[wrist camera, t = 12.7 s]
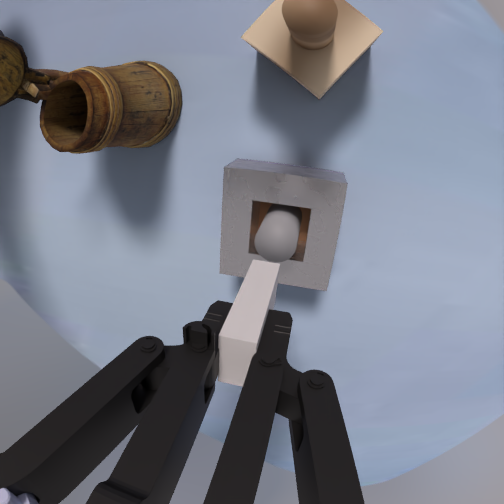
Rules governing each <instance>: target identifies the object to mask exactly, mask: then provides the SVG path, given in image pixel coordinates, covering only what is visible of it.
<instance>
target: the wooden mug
mask: <svg viewBox="0 0 504 504" xmlns="http://www.w3.org/2000/svg"><path fill="white" fill-rule="evenodd" d="M16 98H21V99H25V100H29V101H32V102H34V103H36V104H37V103H38V102H39V100H42V105H41V112H40V128H41V131H42V134H43V136H44V138H45V139H46V141H47V142H48V143H49V144H50V145H51V147H52V148H54V149H56V150H58V151H59V152H70V153H79V154H80V153H88V152H94V151H100V150H101V149H103V148H105V147H117V146H123V147H130V148H141V147H150V146H152V145H154V144H156V143H158V142H160V141H161V140H162V139H163V138H165V137H166V136H167V135H168V134H169V133H170V132H171V130H172V129H173V128H174V127H175V125H176V122H177V120H178V118H179V116H180V111H181V106H182V95H181V89H180V86H179V83H178V80H177V79H176V77H175V76H174V75H173V74H172V72H170V71H169V70H168V69H166V68H165V67H164V66H162V65H160V64H157V63H155V62H149V61H135V62H130V63H125V64H122V65H118V66H111V67H104V68H100V67H94V66H87V67H83V68H79V69H77V70H74V71H72V72H69V73H68V72H63V71H58V70H49V69H32V68H29V67H28V63H27V57H26V55H25V52H24V50H23V48H22V46H21V45H20V44H18V43H17V42H15V41H14V40H12V39H10V38H8V37H4V36H0V106H3V105H5V104H7V103H9V102H10V101H12V100H14V99H16Z"/></svg>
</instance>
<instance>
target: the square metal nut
mask: <svg viewBox="0 0 504 504" xmlns="http://www.w3.org/2000/svg"><path fill="white" fill-rule="evenodd" d="M347 184H348V183H347V181H346V178H345V175H344V173H343V172H337V171H331V170H325V169H318V168H312V167H305V166H298V165H290V164H283V163H275V162H266V161H258V160H248V159H239V158H237V159H236V160H234V161H232V162H231V163H229V164H228V165H226V166H225V167H224V179H223V199H222V222H221V248H220V273H221V274H226V275H232V276H238V277H244V278H245V276H246V274H247V272H248V270H249V268H250V265H251V263H252V261H253V259H254V260H260V261H266V262H271V261H268V260H266V259H264V258H263V257H262V256H260V254H259V253H258V252H257V250H256V247H255V236H256V234H257V232H258V224H259V213H260V202H268V203H276V204H283V205H290V206H296V207H303V208H310V209H311V211H310V218H309V225H308V231H307V238H306V242H305V241H299V240H298V242H297V247H296V251H295V253H294V254H293V256H292V257H291V258H289V259H288V260H286V261H283V262H272V263H278V264H280V269H279V277H278V283H279V284H285V285H291V286H298V287H304V288H310V289H316V290H323V291H327V287H328V282H329V278H330V273H331V269H332V264H333V259H334V254H335V249H336V244H337V239H338V234H339V229H340V224H341V218H342V213H343V207H344V202H345V196H346V190H347Z"/></svg>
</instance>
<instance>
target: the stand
mask: <svg viewBox="0 0 504 504" xmlns="http://www.w3.org/2000/svg"><path fill="white" fill-rule="evenodd" d="M382 32H383V31H382V30H381V29H380V28H379V27H378V26H376V25H375V24H374V23H373V22H372V21H370V20H369V19H368V18H367V17H366V16H364V15H363V14H362V13H360V12H359V11H358V10H357V9H355V8H354V7H353V6H351V5H350V4H349V3H347V2H346V1H345V0H275V1H274V2H273V3H272V4H271V5H270V6H269V7H268V8H267V9H266V10H265V11H264V12H263V13H262V15H261V16H260V17H259V18H258V19H257V20H256V21H255V22H254V23H253V24H252V25H251V26H250V28H249V29H248V30H247V31H246V32H245V33H244V34H243V35H242V37H241V38H242V39H243V40H245V41H246V42H247V43H248V44H250V45H251V46H252V47H253V48H254V49H255V50H257V51H258V52H259V53H261V54H262V55H264V56H265V57H266V58H268V59H269V60H270V61H272V62H273V63H274V64H276V65H277V66H278V67H280V68H281V69H282V70H283V71H285V72H286V73H287V74H289V75H290V76H291V77H292V78H294V79H295V80H296V81H297V82H299V83H300V84H301V85H302V86H304V87H305V88H306V89H307V90H308V91H310V92H311V93H312V94H313V95H314V96H316V97H317V98H318V99H319V100H320V98H321V97H322V96H323V95H324V94H325V93H326V92H327V91H328V90H329V89H330V88H331V87H332V86H333V85H334V84H335V83H336V81H337V80H338V79H339V78H340V77H341V76H342V75H343V74H344V73H345V72H346V71H347V70H348V69H349V68H350V67H351V66H352V65H353V64H354V63H355V62H356V61H357V60H358V59H359V58H360V57H361V56H362V55H363V54H364V53H365V52H366V51H367V50H368V49H369V48H370V47H371V45H372V44H373V43H374V42H375V41H376V39H377V38H378V37H379V36H380V35H381V34H382Z"/></svg>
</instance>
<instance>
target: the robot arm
mask: <svg viewBox="0 0 504 504" xmlns="http://www.w3.org/2000/svg"><path fill="white" fill-rule="evenodd" d="M0 36H4V35H3V33H2V31H1V30H0ZM279 269H280V264H278V263H272V262H266V261H260V260H254V259H253V261H252V263H251V265H250V268H249V270H248V272H247V274H246V276H245V279H244V281H243V283H242V285H241V287H240V290H239V292H238V294H237V296H236V298H235V301H234V303H229V302H224V301H216V302H215V303H213V304H212V305H211V306H210V307H209V309H208V311H207V313H206V315H205V316H204V319H203V320H202V321H195V322H190V323H188V324H186V325H185V326H184V327H183V338H184V344H182V345H177V346H164V344H163V342H162V340H160V339H159V338H157V337H154V336H145V337H141V338H139V339H138V340H136V341H135V342H134V343H133V344H131V345H130V346H129V347H128V348H127V349H125V350H124V351H123V352H122V353H121V354H120V355H118V356H117V357H116V358H115V359H114V360H112V361H111V362H110V363H109V364H108V365H106V366H105V367H104V368H103V369H102V370H101V371H99V372H98V373H97V374H96V375H95V376H93V377H92V378H91V379H90V380H89V381H88V382H86V383H85V384H84V385H83V386H82V387H81V388H79V389H78V390H77V391H76V392H74V393H73V394H72V395H71V396H70V397H69V398H67V399H66V400H65V401H64V402H63V403H61V404H60V405H59V406H58V407H57V408H56V409H55V410H53V411H52V412H51V413H50V414H48V415H47V416H46V417H45V418H44V419H43V420H41V421H40V422H39V423H38V424H37V425H36V426H34V427H33V428H32V429H31V430H30V431H29V432H27V433H26V434H25V435H24V436H23V437H21V438H20V439H19V440H18V441H17V442H16V443H14V444H13V445H12V446H11V447H10V448H9V449H7V450H6V451H5V452H3V453H0V504H58V503H60V502H61V501H62V500H63V499H64V498H66V497H67V496H68V495H69V494H70V493H71V492H72V491H73V490H74V489H75V488H76V487H77V486H78V485H79V484H80V483H81V482H82V481H83V480H84V479H85V478H86V477H87V476H88V475H89V474H90V473H91V472H92V471H93V470H94V469H95V468H96V467H97V466H98V465H99V464H100V463H101V462H102V461H103V460H104V459H105V458H106V457H107V456H108V455H109V454H110V453H111V452H112V451H113V450H114V448H115V447H117V445H118V444H119V443H120V442H121V441H122V440H123V439H124V438H125V437H126V436H127V435H128V434H129V433H130V432H131V431H132V430H133V429H134V428H135V427H136V426H137V425H138V426H137V428H136V430H135V432H134V433H133V435H132V437H131V439H130V441H129V443H128V444H127V446H126V448H125V450H124V452H123V453H122V455H121V457H120V459H119V461H118V463H117V465H116V467H115V468H114V470H113V472H112V474H111V476H110V477H109V479H108V480H107V481H104V482H100V483H99V484H98V485H97V486H96V487H95V489H94V490H93V492H92V493H91V495H90V497H89V499H88V501H87V502H86V504H169V502H170V500H171V497H172V495H173V493H174V490H175V488H176V485H177V483H178V481H179V478H180V476H181V473H182V471H183V468H184V466H185V463H186V461H187V458H188V456H189V453H190V451H191V448H192V446H193V443H194V441H195V438H196V436H197V434H198V431H199V429H200V426H201V424H202V421H203V418H204V416H205V413H206V411H207V408H208V406H209V403H210V401H211V398H212V396H213V393H214V391H215V381H216V378H217V376H218V381H220V382H224V383H229V384H233V385H238V386H243V388H242V391H241V394H240V397H239V400H238V403H237V406H236V409H235V412H234V415H233V418H232V421H231V424H230V428H229V431H228V434H227V437H226V440H225V443H224V445H223V448H222V451H221V454H220V457H219V460H218V463H217V466H216V469H215V472H214V475H213V478H212V480H211V483H210V486H209V489H208V492H207V495H206V498H205V500H204V503H203V504H253V503H254V500H255V495H256V492H257V488H258V483H259V480H260V475H261V472H262V467H263V463H264V459H265V455H266V451H267V446H268V442H269V437H270V433H271V428H272V424H273V419H274V415H275V413H277V414H280V415H282V416H284V417H286V418H288V419H289V427H290V435H291V443H292V450H293V458H294V466H295V474H296V482H297V490H298V498H299V504H364V500H363V495H362V491H361V487H360V482H359V478H358V474H357V470H356V466H355V462H354V458H353V454H352V450H351V446H350V442H349V438H348V435H347V431H346V427H345V423H344V419H343V416H342V412H341V408H340V404H339V401H338V397H337V393H336V390H335V386H334V383H333V380H332V378H331V377H330V376H329V375H328V374H327V373H325V372H323V371H320V370H309V371H306V372H304V373H302V372H299V371H297V370H295V369H293V368H292V367H291V366H290V365H289V363H288V362H287V359H286V354H287V349H288V344H289V338H290V332H291V327H292V321H293V320H292V317H291V315H290V313H288V312H282V311H277V310H273V309H274V305H275V299H276V291H277V284H278V277H279Z"/></svg>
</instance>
